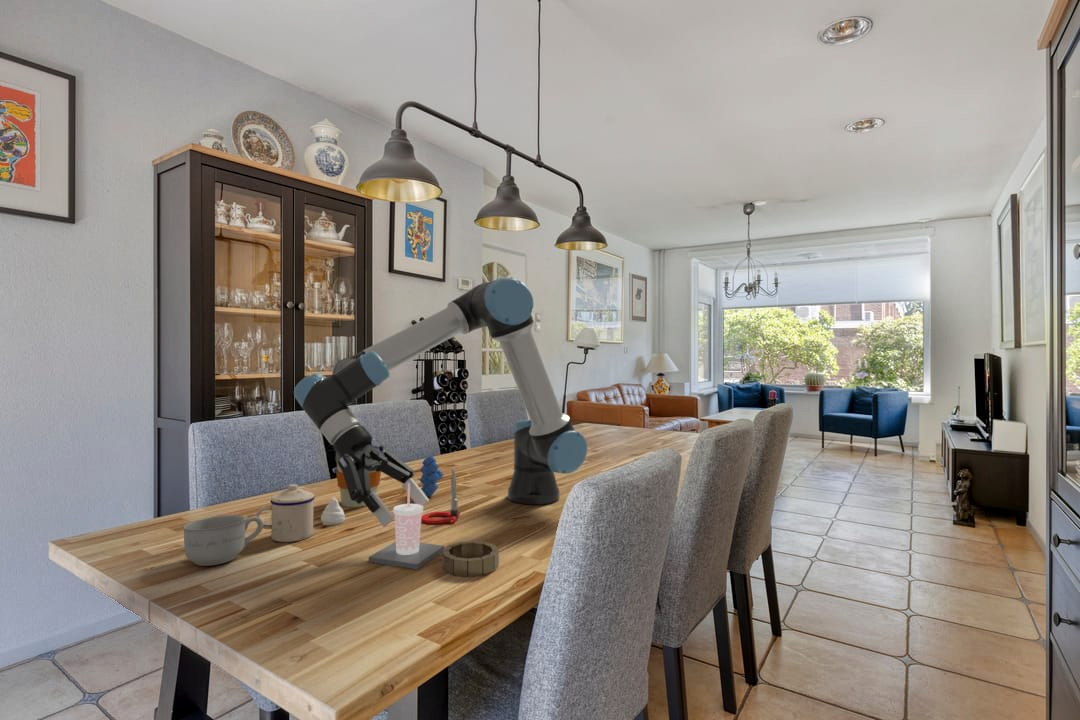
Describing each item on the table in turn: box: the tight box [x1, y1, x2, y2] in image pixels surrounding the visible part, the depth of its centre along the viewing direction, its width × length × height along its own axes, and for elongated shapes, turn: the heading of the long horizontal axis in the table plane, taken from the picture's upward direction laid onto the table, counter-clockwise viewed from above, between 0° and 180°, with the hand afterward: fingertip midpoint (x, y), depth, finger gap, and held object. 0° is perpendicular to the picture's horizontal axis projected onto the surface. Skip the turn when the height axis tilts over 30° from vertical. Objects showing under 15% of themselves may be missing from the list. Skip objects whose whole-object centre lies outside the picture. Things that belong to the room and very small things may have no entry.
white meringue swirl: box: [320, 497, 346, 526], centre depth 135 cm, size 6×6×5 cm
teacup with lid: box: [255, 483, 315, 543], centre depth 124 cm, size 12×9×12 cm
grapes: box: [419, 456, 444, 497], centre depth 161 cm, size 12×7×12 cm, turn 29°
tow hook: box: [421, 468, 461, 525], centre depth 139 cm, size 8×13×9 cm
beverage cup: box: [392, 483, 424, 555], centre depth 114 cm, size 6×6×14 cm
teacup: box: [182, 514, 264, 567], centre depth 110 cm, size 14×11×8 cm
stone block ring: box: [441, 540, 500, 578], centre depth 109 cm, size 11×11×3 cm
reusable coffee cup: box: [334, 445, 382, 508], centre depth 153 cm, size 13×13×15 cm
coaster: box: [368, 541, 445, 570], centre depth 114 cm, size 11×11×1 cm
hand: (408, 513), depth 113 cm, fingers open, 13 cm apart
